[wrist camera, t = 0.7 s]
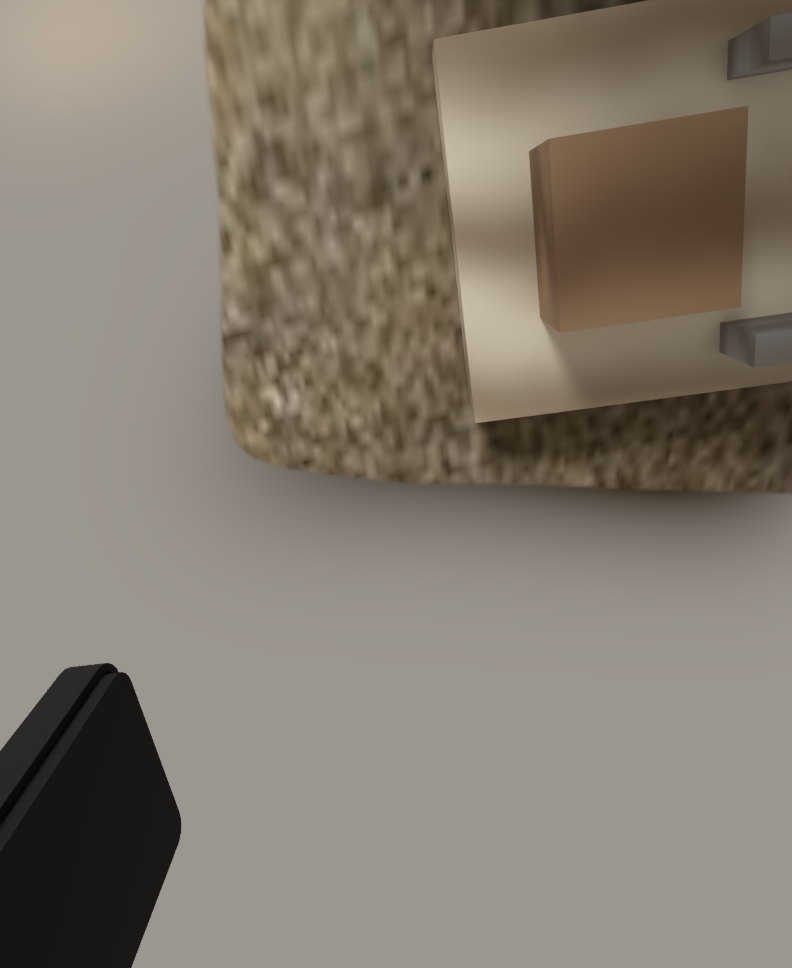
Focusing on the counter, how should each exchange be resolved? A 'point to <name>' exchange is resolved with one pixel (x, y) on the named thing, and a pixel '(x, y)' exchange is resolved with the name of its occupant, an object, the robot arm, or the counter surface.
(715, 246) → the walnut block
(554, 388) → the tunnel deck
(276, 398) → the counter surface
